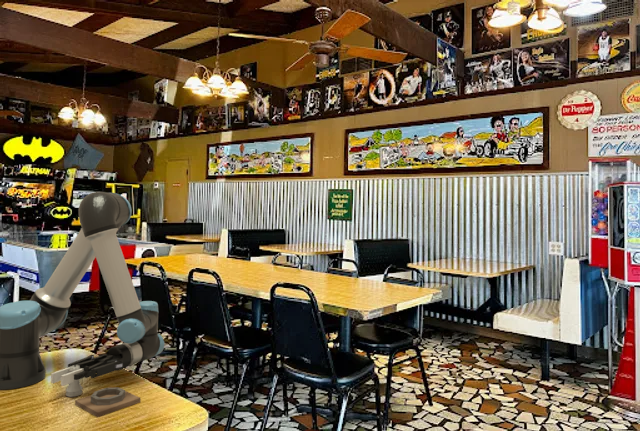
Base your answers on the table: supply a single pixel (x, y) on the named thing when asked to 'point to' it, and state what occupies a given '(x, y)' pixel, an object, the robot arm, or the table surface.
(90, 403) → the socket board
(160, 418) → the table surface
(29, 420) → the table surface
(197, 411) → the table surface
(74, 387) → the rook chess piece
